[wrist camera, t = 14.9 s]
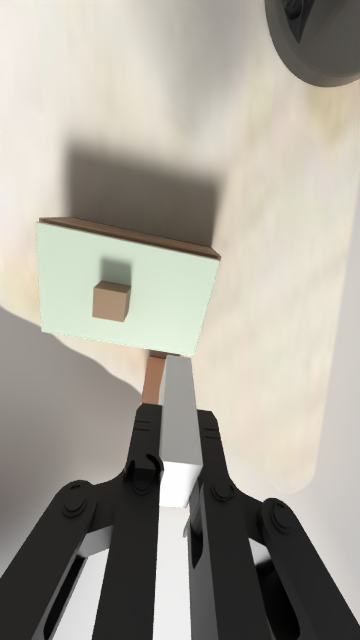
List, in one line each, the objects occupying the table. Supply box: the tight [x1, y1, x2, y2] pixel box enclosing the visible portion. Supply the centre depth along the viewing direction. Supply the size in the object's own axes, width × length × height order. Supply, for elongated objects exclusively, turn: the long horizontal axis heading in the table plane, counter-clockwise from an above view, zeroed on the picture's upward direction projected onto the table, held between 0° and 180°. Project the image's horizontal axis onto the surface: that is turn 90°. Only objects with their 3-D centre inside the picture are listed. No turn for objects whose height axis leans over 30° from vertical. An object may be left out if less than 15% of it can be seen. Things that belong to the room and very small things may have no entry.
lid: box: [35, 222, 220, 357], centre depth 23 cm, size 11×17×4 cm, turn 78°
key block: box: [140, 357, 166, 405], centre depth 33 cm, size 5×5×10 cm
